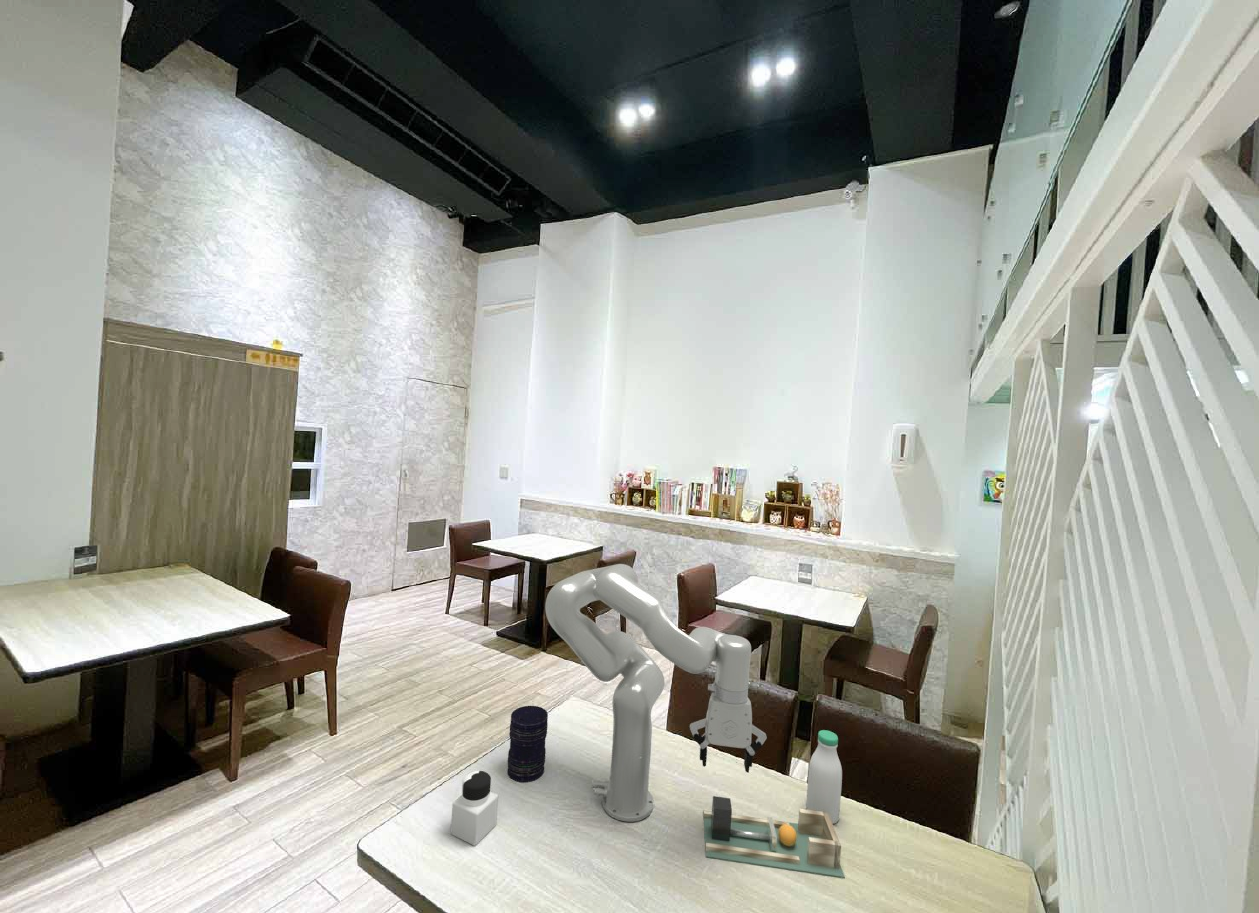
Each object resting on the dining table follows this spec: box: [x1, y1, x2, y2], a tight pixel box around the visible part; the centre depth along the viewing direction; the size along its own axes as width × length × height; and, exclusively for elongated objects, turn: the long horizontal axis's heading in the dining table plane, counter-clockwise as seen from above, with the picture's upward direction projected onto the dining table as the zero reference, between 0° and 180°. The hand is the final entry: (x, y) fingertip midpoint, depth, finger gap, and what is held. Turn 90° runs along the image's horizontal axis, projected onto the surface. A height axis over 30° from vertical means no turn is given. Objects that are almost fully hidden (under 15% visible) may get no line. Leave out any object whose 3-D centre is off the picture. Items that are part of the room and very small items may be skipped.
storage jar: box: [507, 705, 549, 784], centre depth 134 cm, size 10×10×15 cm
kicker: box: [711, 795, 777, 851], centre depth 115 cm, size 14×6×7 cm, turn 84°
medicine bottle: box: [450, 770, 499, 847], centre depth 112 cm, size 7×7×12 cm
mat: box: [702, 810, 846, 879], centre depth 115 cm, size 29×14×1 cm, turn 84°
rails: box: [703, 810, 800, 864], centre depth 115 cm, size 20×11×1 cm, turn 84°
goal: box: [797, 808, 842, 869], centre depth 113 cm, size 6×10×5 cm, turn 174°
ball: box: [778, 824, 797, 846], centre depth 114 cm, size 4×4×4 cm
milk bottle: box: [805, 729, 843, 825], centre depth 125 cm, size 8×8×20 cm
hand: (725, 765), depth 115 cm, fingers open, 9 cm apart
